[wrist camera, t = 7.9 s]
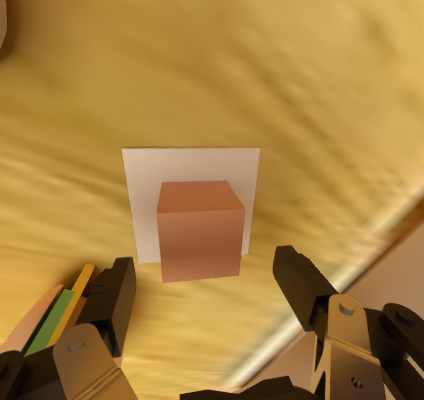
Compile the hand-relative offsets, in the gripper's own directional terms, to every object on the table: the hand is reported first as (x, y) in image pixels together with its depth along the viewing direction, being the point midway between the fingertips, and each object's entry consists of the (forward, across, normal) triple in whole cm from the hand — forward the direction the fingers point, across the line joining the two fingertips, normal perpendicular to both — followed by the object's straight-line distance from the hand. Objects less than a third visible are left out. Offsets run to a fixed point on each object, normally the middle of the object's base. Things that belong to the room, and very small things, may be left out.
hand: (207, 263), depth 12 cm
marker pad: (+7, 0, 0) cm, 7 cm away
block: (+6, 0, 0) cm, 6 cm away
